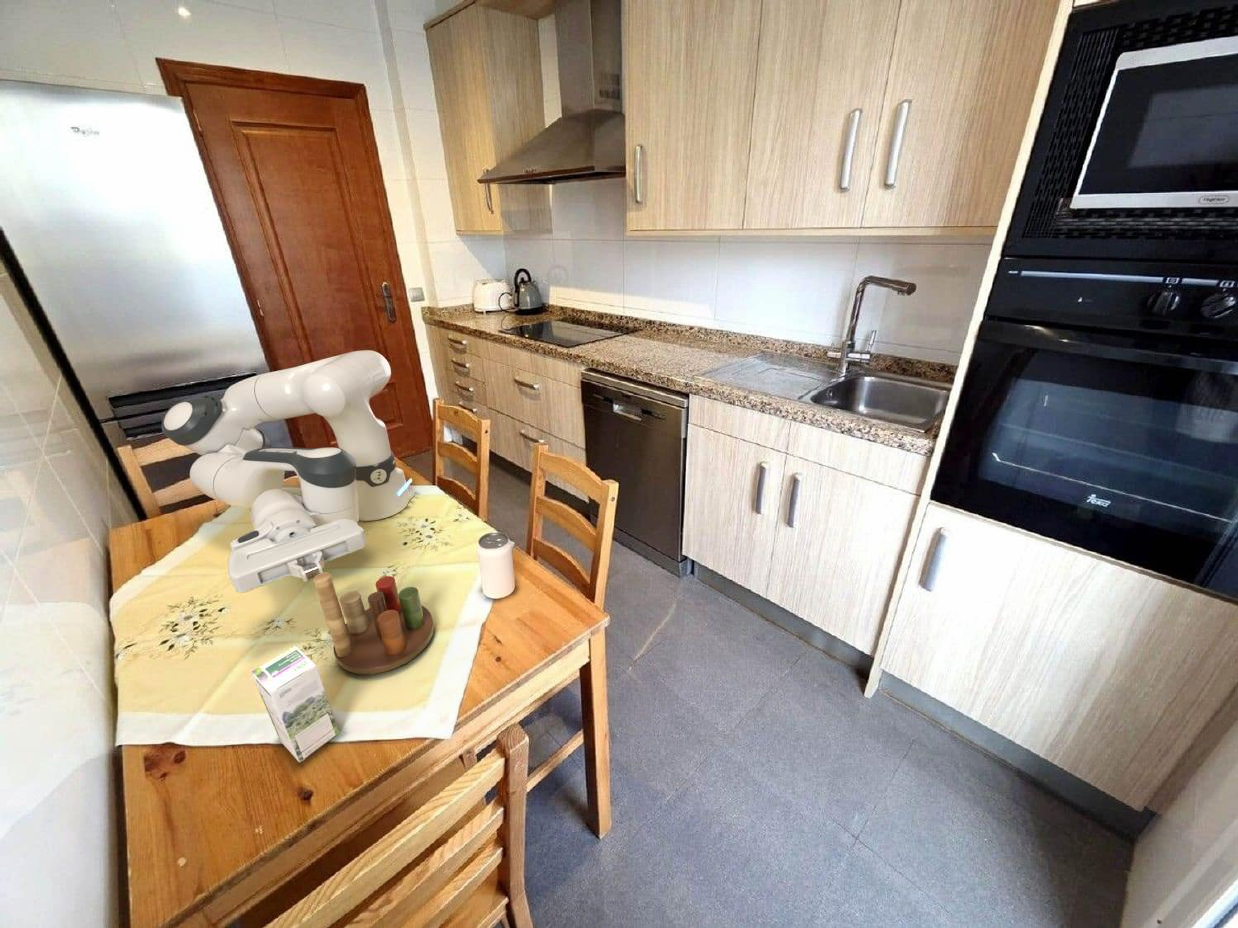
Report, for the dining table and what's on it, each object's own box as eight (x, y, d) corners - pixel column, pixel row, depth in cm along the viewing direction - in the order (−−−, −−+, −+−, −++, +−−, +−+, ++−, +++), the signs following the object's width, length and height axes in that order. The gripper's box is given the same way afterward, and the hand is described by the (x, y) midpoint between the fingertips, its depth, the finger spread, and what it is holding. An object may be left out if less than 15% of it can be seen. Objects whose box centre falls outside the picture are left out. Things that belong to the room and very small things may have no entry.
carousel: (322, 634, 88) (296, 557, 81) (411, 593, 98) (396, 521, 91) (353, 691, 78) (326, 608, 71) (449, 639, 88) (435, 561, 81)
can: (507, 602, 98) (502, 552, 93) (477, 597, 99) (470, 547, 94) (520, 581, 104) (515, 532, 99) (491, 576, 105) (485, 528, 100)
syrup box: (320, 713, 76) (294, 642, 70) (341, 734, 73) (316, 662, 66) (280, 742, 72) (248, 669, 65) (300, 765, 69) (269, 692, 62)
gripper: (356, 531, 99) (382, 563, 90) (230, 575, 86) (246, 618, 77) (348, 503, 96) (374, 534, 87) (218, 545, 83) (232, 586, 74)
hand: (313, 574), depth 82 cm, fingers closed
